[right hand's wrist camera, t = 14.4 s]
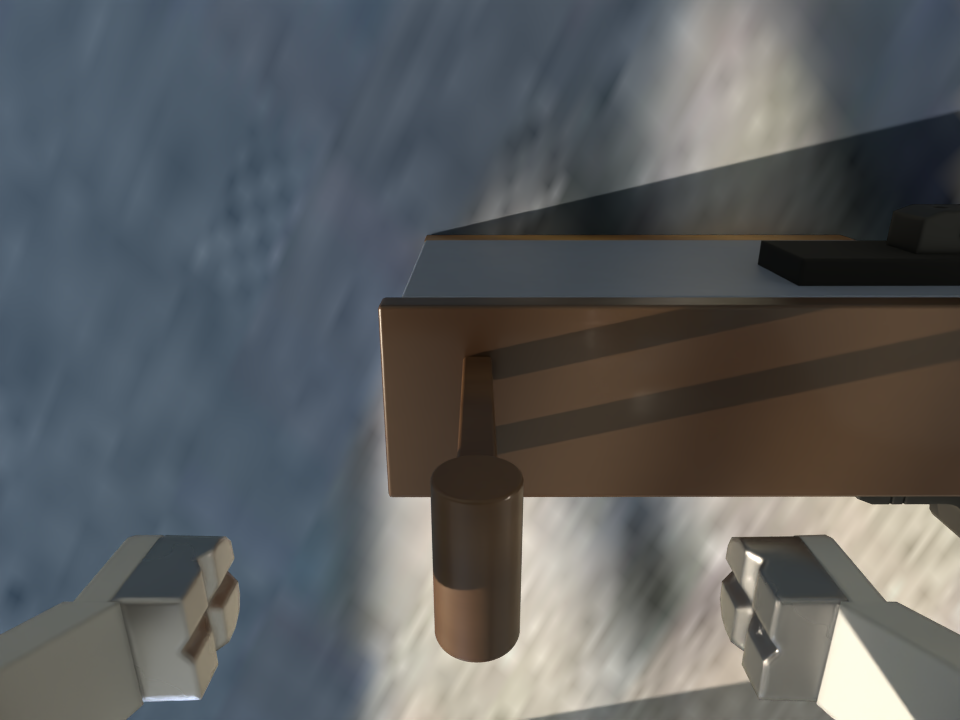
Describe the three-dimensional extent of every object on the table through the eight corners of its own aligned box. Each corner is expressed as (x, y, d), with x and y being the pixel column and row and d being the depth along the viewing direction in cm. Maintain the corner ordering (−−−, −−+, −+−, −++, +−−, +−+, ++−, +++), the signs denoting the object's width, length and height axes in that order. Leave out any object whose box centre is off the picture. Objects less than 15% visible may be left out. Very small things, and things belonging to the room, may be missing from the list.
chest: (430, 366, 27) (409, 481, 18) (427, 234, 25) (401, 295, 16) (815, 366, 27) (970, 480, 18) (840, 234, 25) (1026, 295, 16)
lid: (392, 481, 18) (337, 714, 11) (382, 296, 16) (309, 434, 9) (971, 480, 18) (1284, 712, 11) (1027, 296, 16) (1446, 433, 9)
